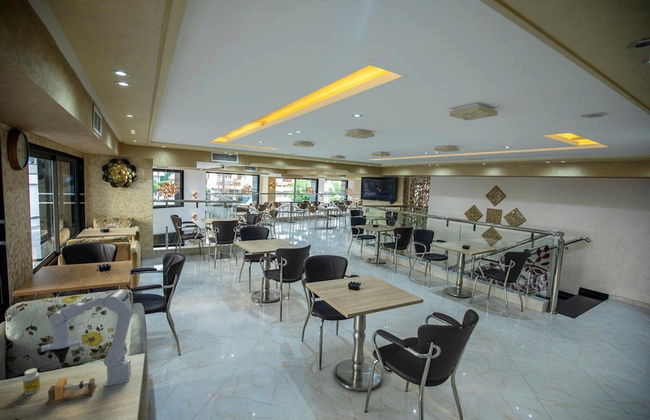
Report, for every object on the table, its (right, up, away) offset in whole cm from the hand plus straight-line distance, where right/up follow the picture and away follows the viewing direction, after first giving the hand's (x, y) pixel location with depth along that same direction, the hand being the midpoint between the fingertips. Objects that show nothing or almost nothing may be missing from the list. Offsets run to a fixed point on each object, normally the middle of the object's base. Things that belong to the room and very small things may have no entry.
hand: (62, 362), depth 142 cm
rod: (+10, -9, -7) cm, 15 cm away
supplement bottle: (-10, -11, -5) cm, 15 cm away
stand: (+10, -12, -6) cm, 17 cm away
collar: (+6, -11, -8) cm, 15 cm away
